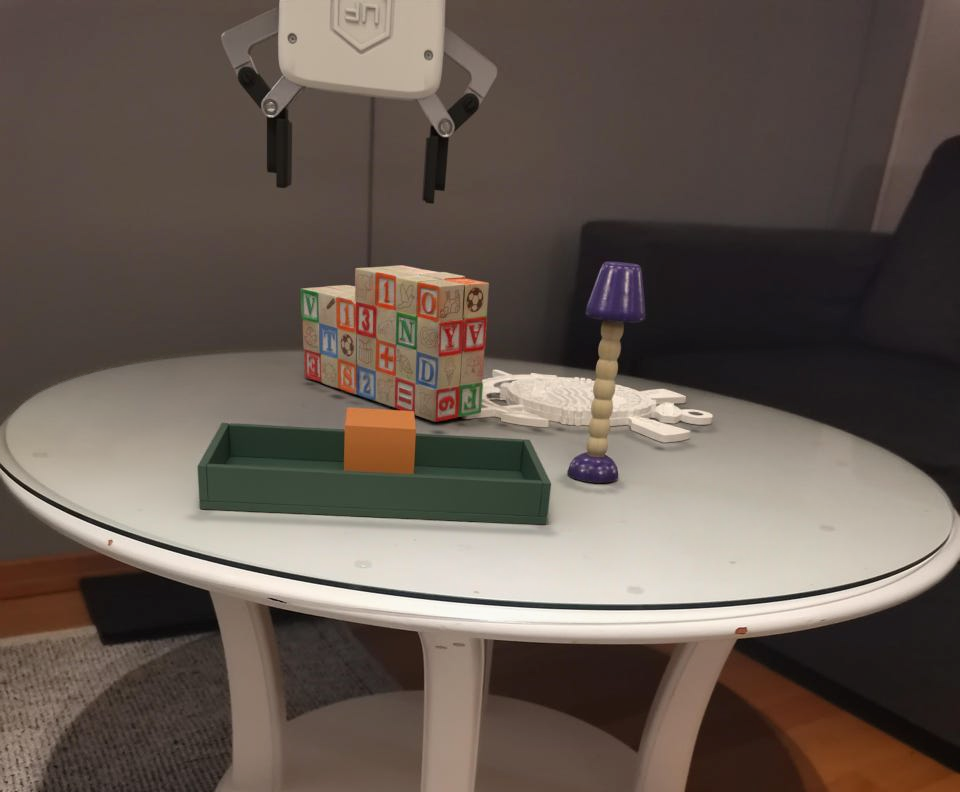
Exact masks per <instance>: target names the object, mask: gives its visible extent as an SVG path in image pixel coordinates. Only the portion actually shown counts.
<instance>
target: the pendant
mask: <svg viewBox="0 0 960 792" xmlns="http://www.w3.org/2000/svg"><path fill="white" fill-rule="evenodd" d="M491 374H492V375H491V377H488V378H483V379H482V382H483V391H482V405H481V413H477V414H472V415H467V416H462V417H460V418H461V419H464V420H469V419H481V418H491V417H496V418H499V419H500V422H503V423H509V424H514V425H519V426H527V427H537V428H549V426H550V425H549V424H550V422H556V423H560V424H562V425H569V426H575V427H581V426H589V423H590V420H591V418H592V414H591V404H592V401H593V399H594V398H595V397H594V394H593V386H594V382H595V380H592V379H591V378H586V377H578V376H574V377H564V376H558V375H555V374H541V373H535V372H530V374H512V373H509V372H506V371H503V370H500V369H492V373H491ZM686 399H687V396H686V395H684V394H681V393H679V392H675V391H673V390H669V389H666V388H655V389H648V390H640V391H639V390H637V389H634V388H631V387H628V386H623V385H620V384H615V393H614V395H613V397H612V402H613V411H612V414H611V416H610V418H609V419H610V427H616V426H628V427H630V431H633V432H635V433H637V434H640V435H643V436H645V437H647V438H650V439H653V440H655V441H657V442H660V443H663V444H664V443H675V442H681V441H686V440H689V439H690V436H691V430H688V429H685V428H682V427H677V426H675V424H677V423H679V422H682V423H686V424H690V425H699V426H705V425H711V424H712V422H713V416H714V415H713V414H712V413H710V412H708V411H704V410H699V409H692V408H691V409H690V408H689V409H687V408H685V409H680V407H678V406H676V405H675V404H677V405H678V404H685V403H686ZM491 400H499V401H505V402H506V404H507V405H500V404H497V403H495V402H493V401H491ZM651 418H652V419H651ZM654 419H655V420H654ZM671 424H672V425H671ZM673 424H674V425H673Z"/></svg>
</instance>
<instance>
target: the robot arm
mask: <svg viewBox="0 0 960 792" xmlns="http://www.w3.org/2000/svg"><path fill="white" fill-rule="evenodd" d="M278 3H279V4H278V6H276V7H274V8H272V9H270V10H267V11H265V12H263V13H261V14H259V15H257V16H255V17H252V18H250V19H248V20H246V21H245V22H242V23H240V24H238V25H236V26H234V27H232V28H229V29H228V30H225V31H224V32H223V33H222V34H221V44H222V45H223V49H224V51H225V53H226V55H227V58H228V59H229V62H230V64H231V66H232V68H233V70H234V73H235V75H236V77H237V80H238V82H239V84H240V86H241V87H242V88H243V89H244V91H245V92H246V93H247V94H248V95H249V97H250V98H251V99H252V100H253V102H254V103H255V104H256V105H257V106H258V108H259V109H260V110H261V112H262V113H263V115H264V116H265V117H266V172H267V173H270V174H275V175H276V176H275V177H276V178H275V179H276V183H275V185H276V188H278V189H286V188H288V187H290V186H292V181H293V180H292V179H293V178H292V177H293V176H292V175H293V174H292V173H293V122H292V121H290V119H289V108H290V107H291V106H292V104H293V103H294V102H295V101H296V100H297V98H299V96H300V95H301V94H302V93H303V92H304V90H305V89H308V90H314V91H321V92H328V93H335V94H336V93H337V94H344V95H352V96H362V97H369V98H376V99H377V98H379V99H387V100H396V101H407V102H416V103H417V105H418V107H419V108H420V110H421V111H422V113H423V115H424V116H425V118H426V119H427V121H428V123H429V124H430V127H429V135H428V136H429V137H426V138H425V151H424V164H423V166H424V167H423V179H422V193H421V199H422V201H423V202H425V204H433V205H434V204H435V191H441V192H445V189H446V178H447V168H448V167H447V166H448V156H449V155H448V153H449V140H450V137H451V136H452V135H453V134H454V133H455V132H456V131H457V130H458V129H459V128H460V127H461V126H463V125H464V124H465V122H467V121H468V120H469V119H470V118H472V116H473V115H474V114H475V113H476V112H478V109H479V107H480V106H481V104H482V102H483V100H484V98H485V97H486V96H487V94H488V92H489V90H490V88H491V87H492V85H493V83H494V81H495V80H496V78H497V77H498V68H497V66H496V64H494V63H493V62H492V61H490V59H488V58H487V57H486V56H484V55H482V54H481V52H479V51H478V50H476V49H475V48H474V47H472V46H471V45H470V44H469V43H467V42H466V41H464V40H463V39H462V38H460V36H458V35H457V34H455V33H454V32H453V31H452V30H450V29H449V28H448V27H447V26H446V0H279V2H278ZM274 37H277V54H278V56H277V57H278V65H279V70H280V72H281V74H282V76H281V77H280V78H279V80H278V81H277V82H276V83H275V84H274V86H273V87H272V88H271V87H270V86H269V85H268V83H267V82H266V81H265V79H264V78H263V77H262V76H261V74H260V73H259V72H258V70H257V68H256V65H255V63H254V61H253V58H252V54H251V52H252V49H253V48H254V47H255V46H257V45H259V44H261V43H264V42H266V41H268V40H271V39H272V38H274ZM444 56H446V57H447V58H448V59H449V60H451V61H452V62H454V63H455V64H456V65H457V66H459V67H460V68H462V69H463V70H464V71H465V72H467V73H468V76H469V83H468V85H467V87H466V89H465V90H464V93H463V94H462V95H461V97H460V98H459V99H458V100H457V101H456V102H455V103H453V105H451V106H450V107H449V108H448V109H446V107H445V105H444V104H443V103H442V101H441V99H440V97H439V96H438V94H437V93H436V92H437V91H438V90H439V88H440V86H441V83H442V75H443V64H444Z"/></svg>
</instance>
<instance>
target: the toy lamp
mask: <svg viewBox="0 0 960 792" xmlns="http://www.w3.org/2000/svg"><path fill="white" fill-rule="evenodd" d="M644 290H645V289H644V281H643V272H642V267H641V266H640V265H639V264H637V263H636V264H635V263H630V262H621V261H605V262H602V265H601V266H600V269H599V272H598V273H597V277H596V280H595V281H594V286H593V287H592V290H591V293H590V296H589V298H588V301H587V304H586V306H585V315H586V317H588V318H591V319H595V320H601V321H602V322H601V325H600V335H601V340H600V342H599V345H598V351H597V352H598V357H599V358H598V360H597V362H596V366H595V375H596V378H595V380H594V381H595V382H594V386H593V394H594V397H595V398H594V399H593V401H592V404H591V414H592V418H591V420H590V423H589V425H588V432H589V436H588V438H587V441H586V451H587V452H583V453H580V454H578V455H576V456H575V457H574V458H573V459H572V460H571V461H570V463H569V466H568V468H567V475H568V476H569V477H570V478H572V479H573V480H578V481H581V482H585V483H586V482H587V483H593V484H594V483H595V484H607V483H612V482H615V481H617V480H618V479H619V467H618V466H617V464H616V462H615V461H614V460H613V458H612V457H610V456H609V455H607V454H606V453H607V452H608V448H609V440H608V436H609V434H610V431H611V426H610V419H609V418H610V416H611V414H612V411H613V402H612V397H613V395H614V393H615V385H616V382H615V378H616V377H617V375H618V371H619V363H618V359H619V357H620V355H621V351H622V343H621V339H622V337H623V335H624V329H625V324H624V323H642V322H644V321H645V319H646V302H645V291H644Z"/></svg>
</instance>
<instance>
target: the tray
mask: <svg viewBox="0 0 960 792" xmlns="http://www.w3.org/2000/svg"><path fill="white" fill-rule="evenodd" d="M344 439H345V428H329V427H328V428H326V427H310V426H309V427H308V426H307V427H306V426H293V425H291V426H289V425H274V424H273V425H271V424H255V423H253V424H251V423H237V422H236V423H235V422H230V423H229V422H221V423H220V425H219V427H218V429H217V430H216V433H214V436H213V438H212V440H211V441H210V443H209V445H208V447H207V448H206V450H205V452H204V454H203V456H202V457H201V459H200V460H199V463H198V464H197V484H198V500H199V502H198V503H199V509H200V510H217V511H235V512H236V511H237V512H256V513H257V512H259V513H278V514H279V513H280V514H281V513H282V514H300V515H301V514H303V515H322V516H323V515H324V516H326V515H327V516H347V517H367V518H368V517H370V518H390V519H391V518H392V519H411V520H413V519H415V520H433V521H435V520H436V521H454V522H455V521H457V522H477V523H478V522H479V523H481V522H482V523H503V524H525V525H547V523H548V515H549V506H550V499H551V490H552V482H551V480H550V478H549V475H548V474H547V472H546V470H545V468H544V466H543V464H542V462H541V460H540V458H539V455H538V453H537V451H536V450H535V447H534V445H533V443H532V441H531V440H530V439H525V438H524V439H522V438H509V437H507V438H506V437H492V436H491V437H489V436H488V437H487V436H473V435H471V436H470V435H453V434H451V435H450V434H436V433H433V434H432V433H417V432H416V440H415V459H414V474H402V473H382V472H362V471H344Z"/></svg>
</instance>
